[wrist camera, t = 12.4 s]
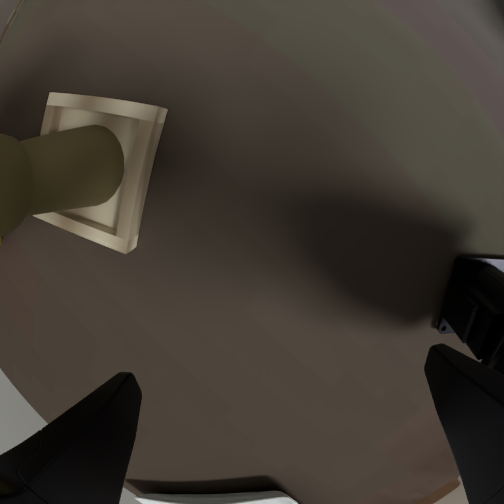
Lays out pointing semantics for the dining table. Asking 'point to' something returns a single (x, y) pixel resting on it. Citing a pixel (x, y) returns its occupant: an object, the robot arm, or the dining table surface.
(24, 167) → the olive green cylinder
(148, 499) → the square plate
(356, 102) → the dining table surface
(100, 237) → the holder
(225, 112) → the dining table surface
